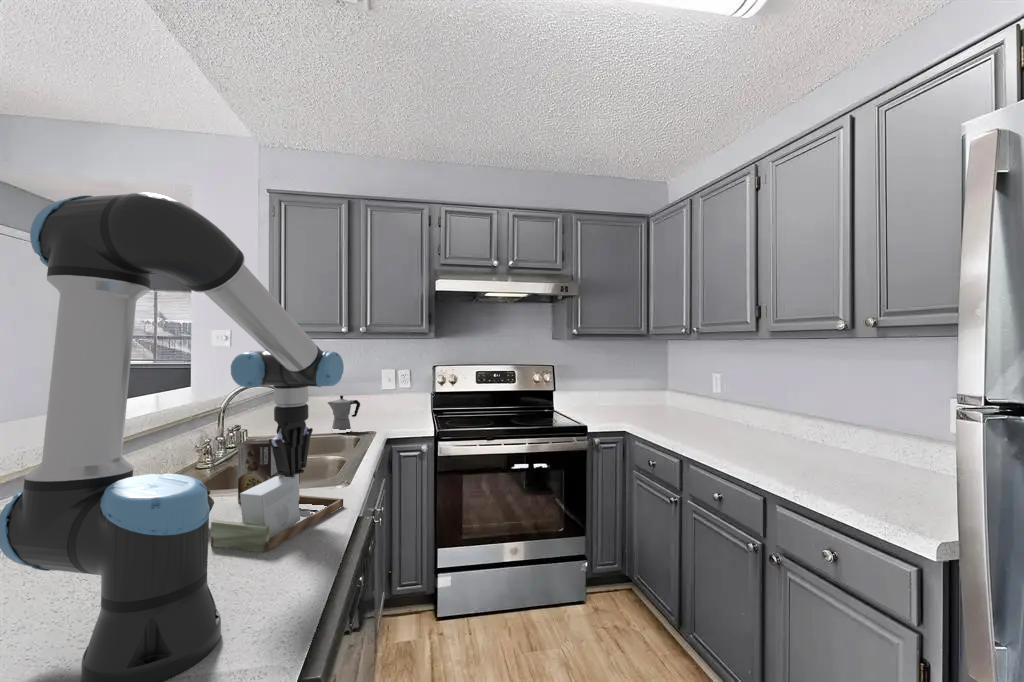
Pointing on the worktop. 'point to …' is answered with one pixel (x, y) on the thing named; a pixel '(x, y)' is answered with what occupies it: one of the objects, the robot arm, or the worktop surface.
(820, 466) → the worktop surface
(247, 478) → the coffee box
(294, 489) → the skincare box
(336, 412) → the coffeepot
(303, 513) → the trap pits
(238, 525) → the track
